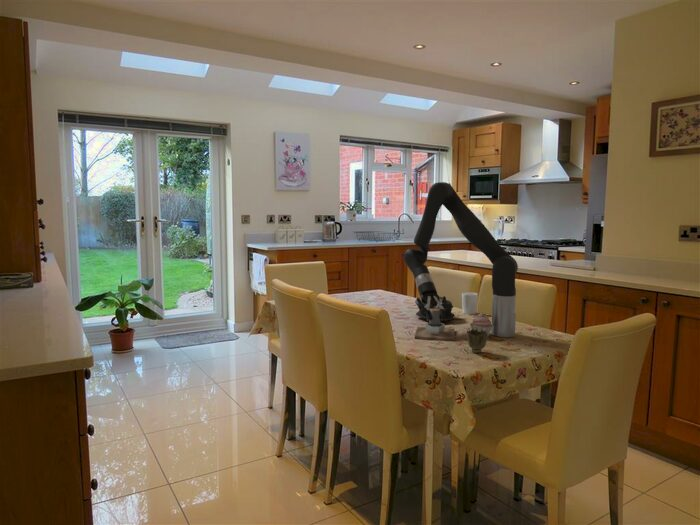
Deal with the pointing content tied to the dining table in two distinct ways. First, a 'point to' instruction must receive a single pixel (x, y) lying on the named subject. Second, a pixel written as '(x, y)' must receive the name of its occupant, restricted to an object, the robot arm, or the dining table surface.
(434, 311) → the grey cylinder tan top
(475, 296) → the white cup
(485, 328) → the cupcake
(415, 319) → the dining table surface
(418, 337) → the board
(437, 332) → the grey octagonal sleeve
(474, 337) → the cup
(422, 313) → the casserole
